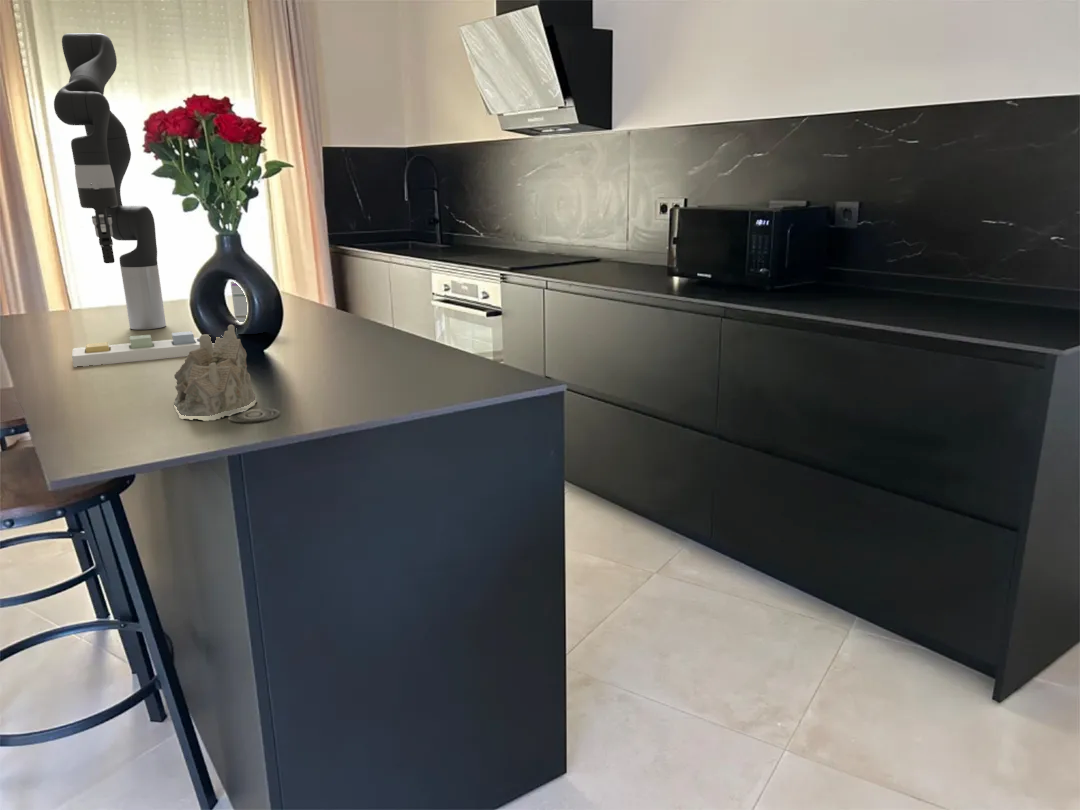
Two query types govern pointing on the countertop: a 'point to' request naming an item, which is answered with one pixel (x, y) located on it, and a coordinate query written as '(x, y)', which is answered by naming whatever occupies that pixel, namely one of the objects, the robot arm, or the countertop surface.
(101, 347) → the ochre button
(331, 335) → the countertop surface
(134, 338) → the sage button
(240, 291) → the syrup box
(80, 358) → the button panel
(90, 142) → the robot arm
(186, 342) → the slate button
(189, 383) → the ceramic cottage
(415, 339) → the countertop surface
